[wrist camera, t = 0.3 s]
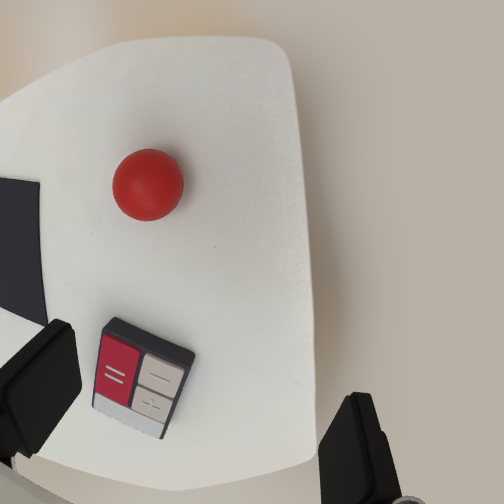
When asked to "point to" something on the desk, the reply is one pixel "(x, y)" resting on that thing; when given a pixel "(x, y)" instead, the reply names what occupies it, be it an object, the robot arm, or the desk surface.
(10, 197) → the side mat
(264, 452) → the desk surface
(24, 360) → the robot arm
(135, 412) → the calculator
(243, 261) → the desk surface
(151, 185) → the red ball
